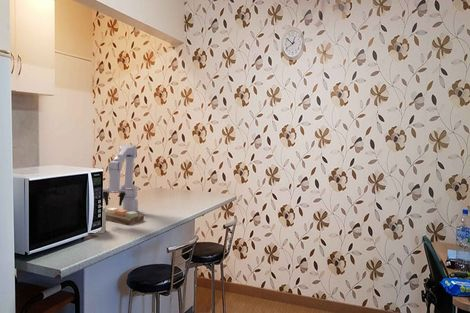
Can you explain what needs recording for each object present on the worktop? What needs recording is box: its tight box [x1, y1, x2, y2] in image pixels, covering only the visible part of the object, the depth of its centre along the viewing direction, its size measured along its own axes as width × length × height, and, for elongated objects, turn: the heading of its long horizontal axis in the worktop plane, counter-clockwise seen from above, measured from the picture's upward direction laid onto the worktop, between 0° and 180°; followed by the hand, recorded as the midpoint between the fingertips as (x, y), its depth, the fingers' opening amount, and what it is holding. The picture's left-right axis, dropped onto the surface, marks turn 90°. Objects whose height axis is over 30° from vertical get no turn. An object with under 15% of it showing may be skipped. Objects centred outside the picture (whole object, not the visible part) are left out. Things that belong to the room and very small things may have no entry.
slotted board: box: [106, 213, 145, 226], centre depth 218 cm, size 12×24×3 cm, turn 60°
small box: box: [95, 206, 107, 234], centre depth 191 cm, size 8×6×13 cm
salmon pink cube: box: [116, 208, 128, 216], centre depth 217 cm, size 5×5×4 cm
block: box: [125, 211, 139, 219], centre depth 213 cm, size 5×5×4 cm
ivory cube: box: [106, 207, 120, 214], centre depth 221 cm, size 5×5×4 cm
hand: (113, 205), depth 207 cm, fingers open, 7 cm apart
